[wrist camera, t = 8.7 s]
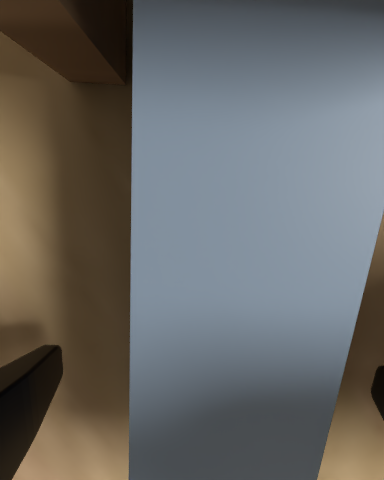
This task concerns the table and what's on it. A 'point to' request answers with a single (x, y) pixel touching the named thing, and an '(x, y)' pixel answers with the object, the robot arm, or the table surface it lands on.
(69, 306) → the table surface
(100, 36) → the wooden arch
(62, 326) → the table surface
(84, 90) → the table surface
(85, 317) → the table surface
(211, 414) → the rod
